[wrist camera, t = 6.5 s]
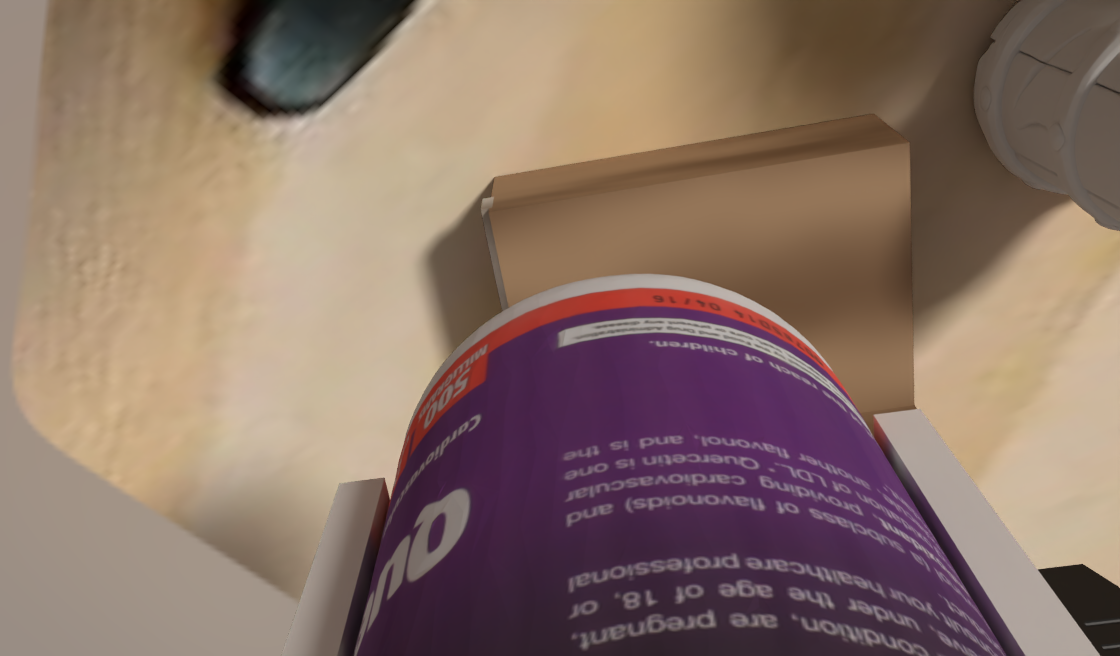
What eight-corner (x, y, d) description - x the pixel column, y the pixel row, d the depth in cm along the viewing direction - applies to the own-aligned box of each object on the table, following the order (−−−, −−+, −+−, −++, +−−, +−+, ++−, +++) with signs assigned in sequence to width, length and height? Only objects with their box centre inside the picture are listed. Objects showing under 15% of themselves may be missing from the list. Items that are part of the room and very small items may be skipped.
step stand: (337, 203, 37) (278, 300, 29) (873, 113, 36) (968, 189, 28) (451, 612, 46) (430, 775, 38) (887, 551, 44) (963, 706, 36)
